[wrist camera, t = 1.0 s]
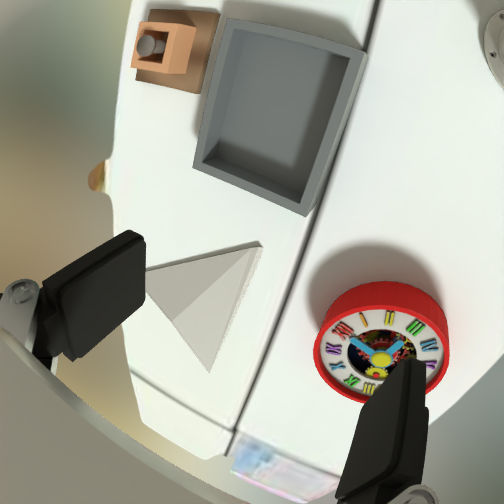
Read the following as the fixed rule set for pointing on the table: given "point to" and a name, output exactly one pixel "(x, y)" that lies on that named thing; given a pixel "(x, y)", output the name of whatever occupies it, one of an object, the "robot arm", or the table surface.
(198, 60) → the stake base
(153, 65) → the ring
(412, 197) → the table surface
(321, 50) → the tray
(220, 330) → the paper plane
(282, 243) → the table surface
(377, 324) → the toy clock
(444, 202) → the table surface
